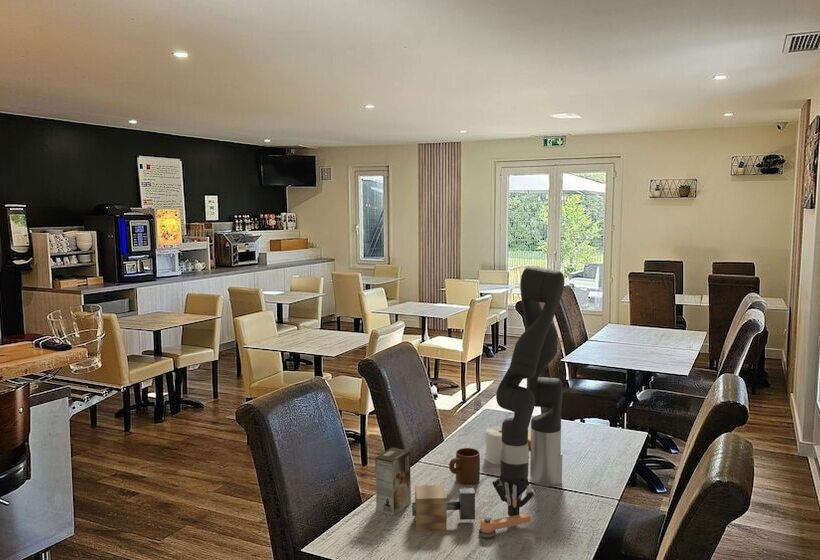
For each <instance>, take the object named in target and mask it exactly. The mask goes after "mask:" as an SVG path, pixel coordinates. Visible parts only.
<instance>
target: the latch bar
mask: <svg viewBox="0 0 820 560" xmlns="http://www.w3.org/2000/svg"><path fill="white" fill-rule="evenodd" d="M531 522H532V515H530V514H529V513H528V512H525V513H519V515H515V516H510V517H509V516H505V517H502V518H497V519H492V518H489V517H485V518H484V517H483V518H481V519H480V525H479V526H480V528H479V529H480V530H481V532H483V533H486V534H490V533H493V532H494V530H495V531H496V530H500V529H505V528H508V527H509V528H510V527H513V526H517V525H518V526H519V525H523V524H526V523H531Z"/></svg>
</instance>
